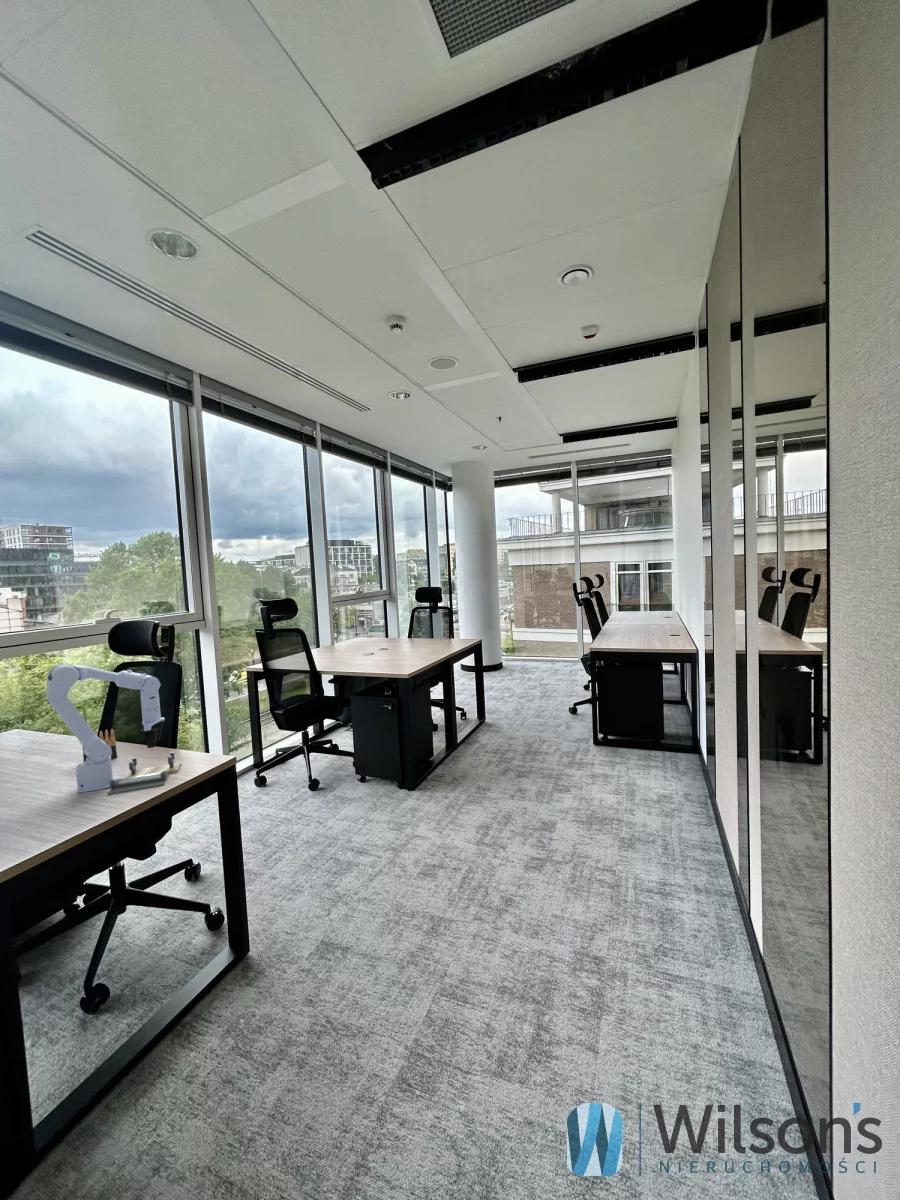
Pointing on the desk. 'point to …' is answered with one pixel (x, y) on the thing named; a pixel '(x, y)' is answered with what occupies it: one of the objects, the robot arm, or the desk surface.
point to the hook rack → (153, 768)
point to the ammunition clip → (107, 741)
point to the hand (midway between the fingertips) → (153, 744)
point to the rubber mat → (137, 786)
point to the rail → (137, 779)
